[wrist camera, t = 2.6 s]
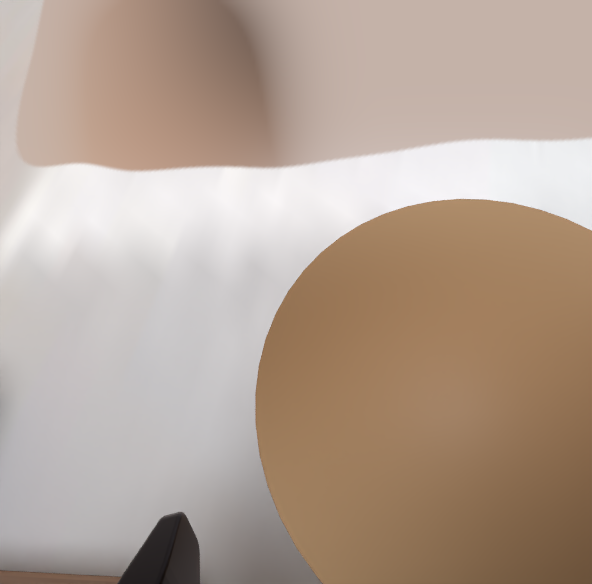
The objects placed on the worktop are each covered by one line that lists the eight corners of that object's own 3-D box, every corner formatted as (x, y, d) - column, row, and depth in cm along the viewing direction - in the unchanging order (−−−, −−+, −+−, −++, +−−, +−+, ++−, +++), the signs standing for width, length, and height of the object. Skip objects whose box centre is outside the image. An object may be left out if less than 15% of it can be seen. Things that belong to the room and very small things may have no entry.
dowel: (433, 512, 16) (841, 711, 3) (321, 508, 16) (239, 666, 3) (424, 398, 17) (668, 192, 4) (322, 397, 18) (267, 204, 5)
